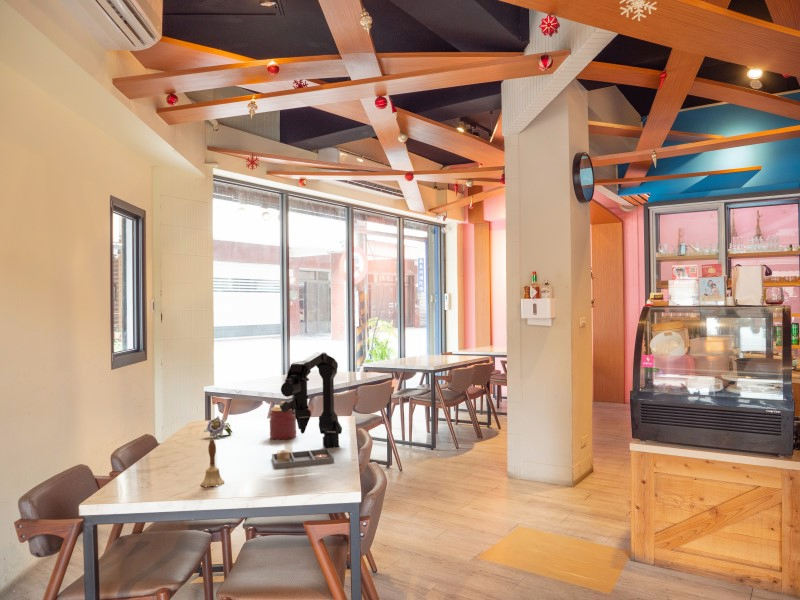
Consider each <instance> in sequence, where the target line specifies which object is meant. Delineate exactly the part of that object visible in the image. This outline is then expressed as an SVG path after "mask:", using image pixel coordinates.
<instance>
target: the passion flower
mask: <svg viewBox="0 0 800 600" xmlns="http://www.w3.org/2000/svg"><path fill="white" fill-rule="evenodd" d="M220 418H221V417H220V416H219V415H218V416H216V417H215V418H213V419H211V420H210V421H209V420H208V421H207V422H208V424H207V427H206V429H205V430H203V432H204V433H207V432H209V433H210V434H209V436H210V437H213V438H214V439H216V438H217V437H218V435H220V436H223V431H225V432H227V434H228V435H229V436H230V435H232V434H233V431H232V428H230V427H231V424H229V422H226V421H227V418H224V419H220Z"/></svg>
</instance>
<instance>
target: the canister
mask: <svg viewBox="0 0 800 600" xmlns="http://www.w3.org/2000/svg"><path fill="white" fill-rule="evenodd" d="M283 402H284V400H283V401H280V402H279V405H280V404H282V403H283ZM279 405H275V406H273V407H272V408H270V410H271V412H269V414H268V415H269V416H270V417H269V436H270V437H269V438H270V439H271V440H272V439H273V440H276V439H283V440H290V439H293V438H296V437H297V419H296V418H295V415H294V414H293V413H292V412H294V410H293V411H291V409H290V410H288V411H286V412H285V413H282V411H281V408H280V406H279Z"/></svg>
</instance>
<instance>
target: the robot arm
mask: <svg viewBox="0 0 800 600" xmlns="http://www.w3.org/2000/svg"><path fill="white" fill-rule="evenodd" d="M338 365H339V364H338V362H337V360H336V359H335V358H334V357H332V356H330V355H328V353H327V352H324V351H319V352H318V351H317V352H314V353H313V354H312V355H310V356H309V357H307V358H305V359H303V360H302V361H301V360H299V361H294V362H292V363H291V364H290V366H289V369H288V371H287V375H286V378H285V379H284V383H282V385H281V387H280V392H281V394H282V395H283V396H284V397H286V398H287V397H291V399H289V400H287V401H283V403H282V404H280V403H279V406H280V408H281V411H282V413H285V412H286V411H288V410H290V409H291V411H293V410H294V412H292V413H293V414H294V415H295V418H296V424H297V428H298V430H300V433H301V434H305V431H306V429H307V427H308V423H309V421H310V419H311V416H312V412H311V410H310V409H309V405H308V404H309V403H308V401H309V400H308V399H309V395H308V381H310V379H309V378H308V376H309V375H310V373H311V370H312V369H313V368H315V367H317V369H318V374H319V376H320V377H321V379H322V413H321V414H320V415H319V416H318V427H319V433H320V435H323V436H322V446H323V448H324V449H331V448H332V449H333V448H340V441H339V440H340V439H339V435H341V434H342V431H343V427H342V425H341V423H340V422H339V417H338V415H337V413H336V411H335V395H334V393H335V391H334V390H335V389H334V388H335V386H334V383H335V382H334V381H335V380H334V379H335V377H336V375H337V373H338V367H339V366H338Z"/></svg>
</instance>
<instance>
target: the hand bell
mask: <svg viewBox="0 0 800 600" xmlns="http://www.w3.org/2000/svg"><path fill="white" fill-rule="evenodd" d="M207 448H208V449H207V450H208V455H209V467H208V468H207V469H205V476H204V479H203V480H202V481H201V483H200V486H201V485H202V486H216V485H220V484H223V483H224V482H225V480H224V479H222V477H221V473H220V468H218V467H216V462H215V461H216V460H215V457H216V452H217V446H216V443H215V439H210V441H209V444H208V447H207ZM224 484H225V483H224ZM224 484H223V485H224ZM202 486H201V487H202ZM220 486H221V485H220ZM216 487H217V486H216Z"/></svg>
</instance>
